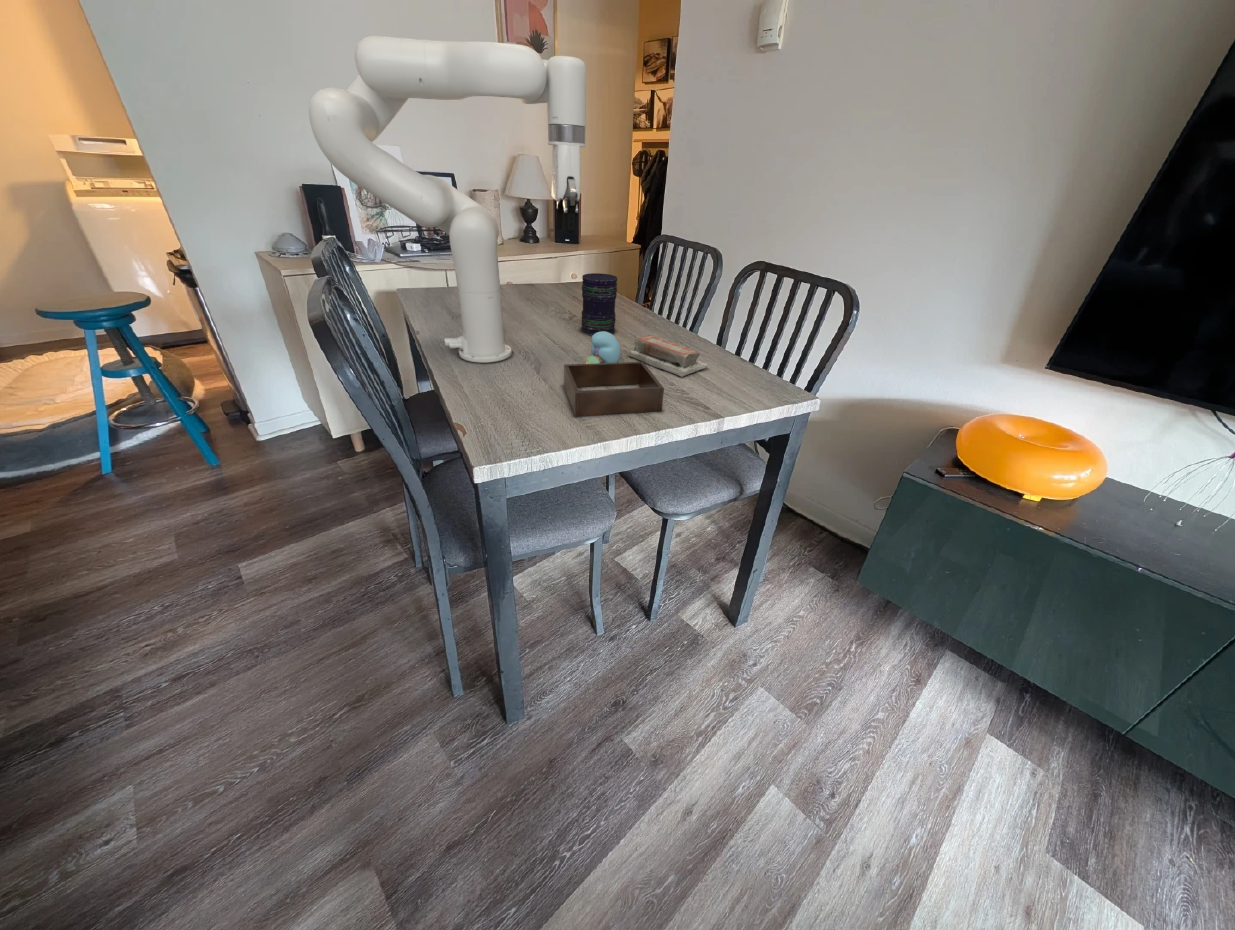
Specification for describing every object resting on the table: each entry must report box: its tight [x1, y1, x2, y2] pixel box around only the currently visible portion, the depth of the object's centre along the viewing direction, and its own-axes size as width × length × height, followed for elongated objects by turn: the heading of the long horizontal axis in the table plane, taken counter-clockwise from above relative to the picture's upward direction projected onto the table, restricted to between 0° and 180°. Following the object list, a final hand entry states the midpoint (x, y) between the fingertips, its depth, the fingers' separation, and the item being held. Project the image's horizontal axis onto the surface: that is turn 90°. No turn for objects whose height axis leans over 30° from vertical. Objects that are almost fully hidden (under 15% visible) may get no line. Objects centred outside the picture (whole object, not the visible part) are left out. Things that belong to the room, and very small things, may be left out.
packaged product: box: [628, 334, 708, 378], centre depth 117 cm, size 18×5×10 cm
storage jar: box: [580, 272, 618, 336], centre depth 134 cm, size 10×10×15 cm
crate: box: [563, 361, 665, 417], centre depth 98 cm, size 18×15×5 cm
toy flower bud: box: [584, 331, 622, 364], centre depth 110 cm, size 7×9×12 cm
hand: (566, 231), depth 104 cm, fingers open, 9 cm apart
